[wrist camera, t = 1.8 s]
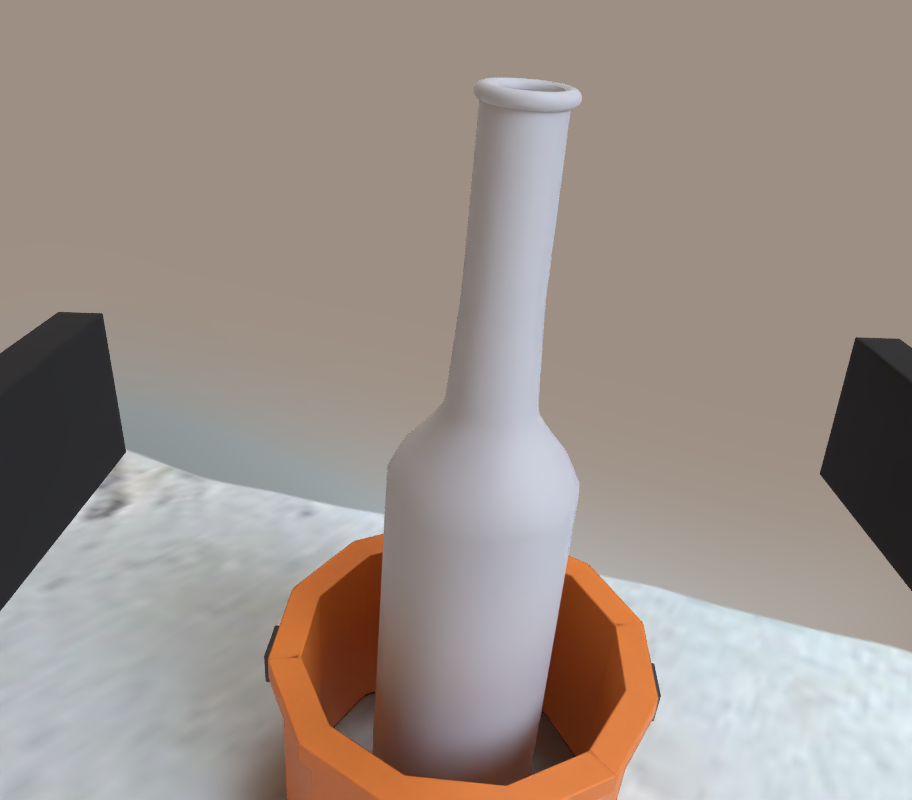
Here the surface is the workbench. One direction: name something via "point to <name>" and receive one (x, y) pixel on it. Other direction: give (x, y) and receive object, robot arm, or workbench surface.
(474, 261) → the bottle
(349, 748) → the bucket
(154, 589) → the workbench surface
